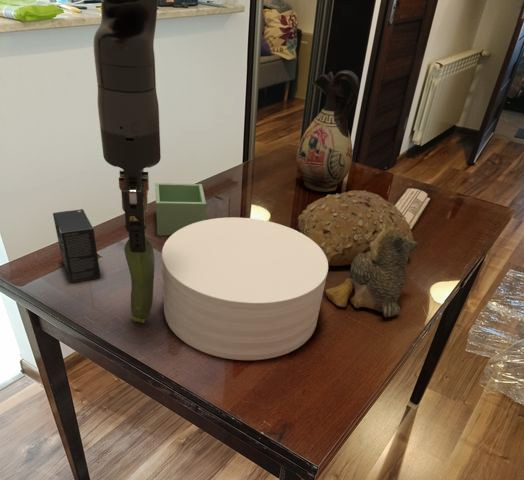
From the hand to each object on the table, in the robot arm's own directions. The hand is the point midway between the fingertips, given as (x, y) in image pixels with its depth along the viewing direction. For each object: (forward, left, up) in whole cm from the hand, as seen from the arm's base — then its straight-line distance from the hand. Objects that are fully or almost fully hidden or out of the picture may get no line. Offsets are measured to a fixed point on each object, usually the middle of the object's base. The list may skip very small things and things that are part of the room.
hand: (138, 238), depth 73 cm
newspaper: (+70, +46, -16) cm, 85 cm away
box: (-12, +17, -16) cm, 26 cm away
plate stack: (+17, +3, -16) cm, 24 cm away
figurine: (+43, +5, -16) cm, 46 cm away
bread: (+46, +26, -16) cm, 55 cm away
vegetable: (0, 0, -16) cm, 16 cm away
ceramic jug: (+49, +60, -16) cm, 79 cm away
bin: (+8, +36, -16) cm, 40 cm away
